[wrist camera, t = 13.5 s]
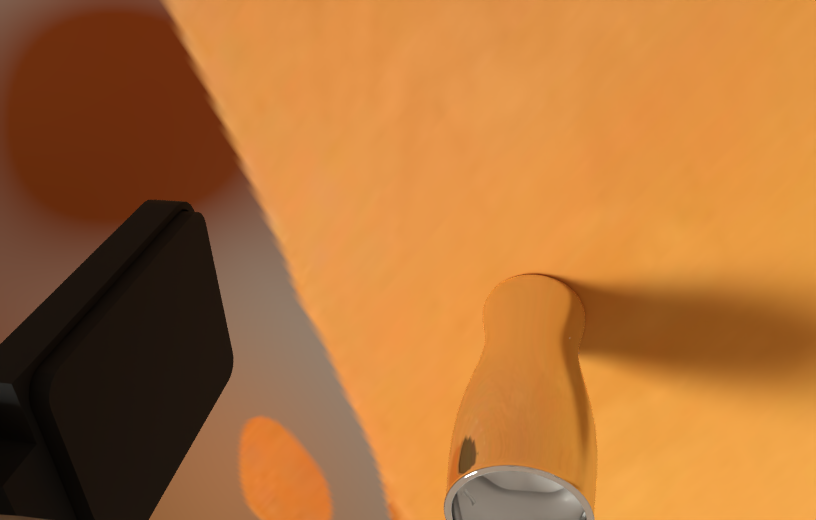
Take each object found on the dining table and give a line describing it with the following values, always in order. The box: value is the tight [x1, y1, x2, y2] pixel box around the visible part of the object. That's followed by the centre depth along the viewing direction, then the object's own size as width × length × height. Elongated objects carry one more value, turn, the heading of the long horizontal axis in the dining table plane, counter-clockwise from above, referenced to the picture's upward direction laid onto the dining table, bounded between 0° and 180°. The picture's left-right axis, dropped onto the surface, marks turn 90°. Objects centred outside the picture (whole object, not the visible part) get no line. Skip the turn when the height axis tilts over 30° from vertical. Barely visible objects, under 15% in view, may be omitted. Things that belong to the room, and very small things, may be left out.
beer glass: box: [444, 274, 597, 520], centre depth 39 cm, size 7×7×15 cm
